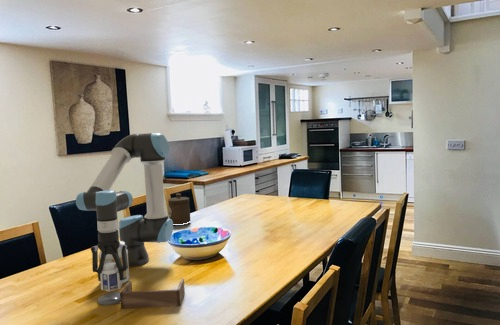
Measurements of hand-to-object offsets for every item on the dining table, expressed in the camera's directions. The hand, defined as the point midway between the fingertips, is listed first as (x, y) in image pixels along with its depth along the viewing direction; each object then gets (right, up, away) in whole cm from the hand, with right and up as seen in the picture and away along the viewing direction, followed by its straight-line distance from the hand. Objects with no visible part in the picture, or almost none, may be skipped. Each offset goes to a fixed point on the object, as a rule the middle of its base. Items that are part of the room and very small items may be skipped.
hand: (111, 288), depth 156 cm
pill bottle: (0, 0, 0) cm, 0 cm away
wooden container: (+5, +6, +126) cm, 126 cm away
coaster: (0, -4, +1) cm, 4 cm away
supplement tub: (-5, -3, +19) cm, 20 cm away
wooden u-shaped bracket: (+17, -4, -2) cm, 18 cm away
